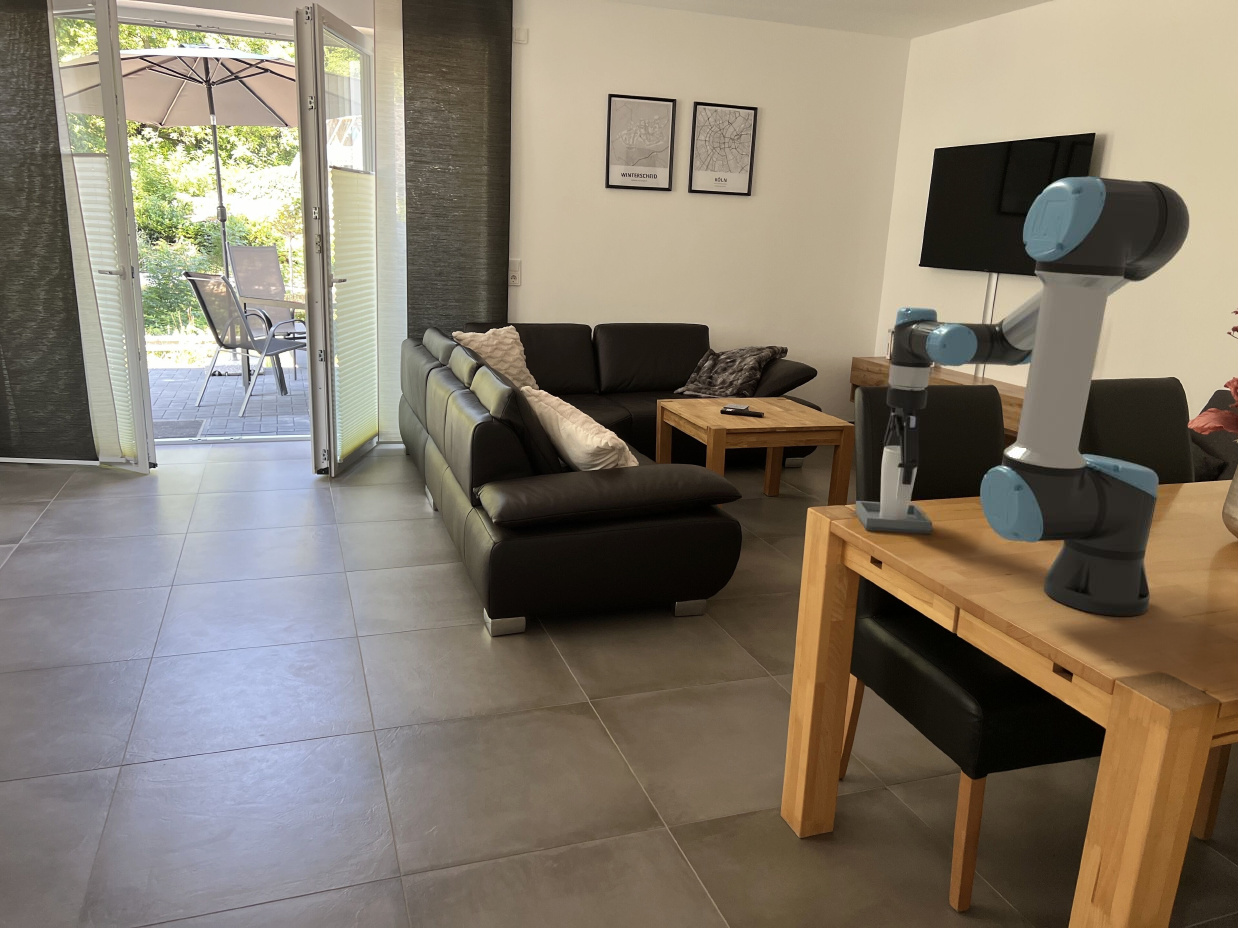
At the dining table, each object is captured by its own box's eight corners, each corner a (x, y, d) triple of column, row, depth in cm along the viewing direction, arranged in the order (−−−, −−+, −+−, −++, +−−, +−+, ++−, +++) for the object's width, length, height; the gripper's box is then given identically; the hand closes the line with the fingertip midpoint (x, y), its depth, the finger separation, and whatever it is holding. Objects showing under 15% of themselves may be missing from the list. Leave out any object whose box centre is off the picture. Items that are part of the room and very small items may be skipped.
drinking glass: (914, 526, 176) (923, 453, 172) (880, 525, 176) (889, 452, 172) (903, 516, 182) (912, 446, 179) (871, 515, 182) (879, 444, 179)
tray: (930, 534, 174) (932, 522, 173) (865, 530, 175) (867, 518, 174) (915, 516, 186) (916, 504, 186) (854, 512, 187) (856, 500, 187)
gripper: (944, 397, 162) (930, 508, 166) (912, 379, 186) (900, 476, 191) (903, 395, 162) (889, 506, 167) (876, 377, 186) (865, 474, 191)
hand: (895, 490), depth 179 cm, fingers open, 13 cm apart
